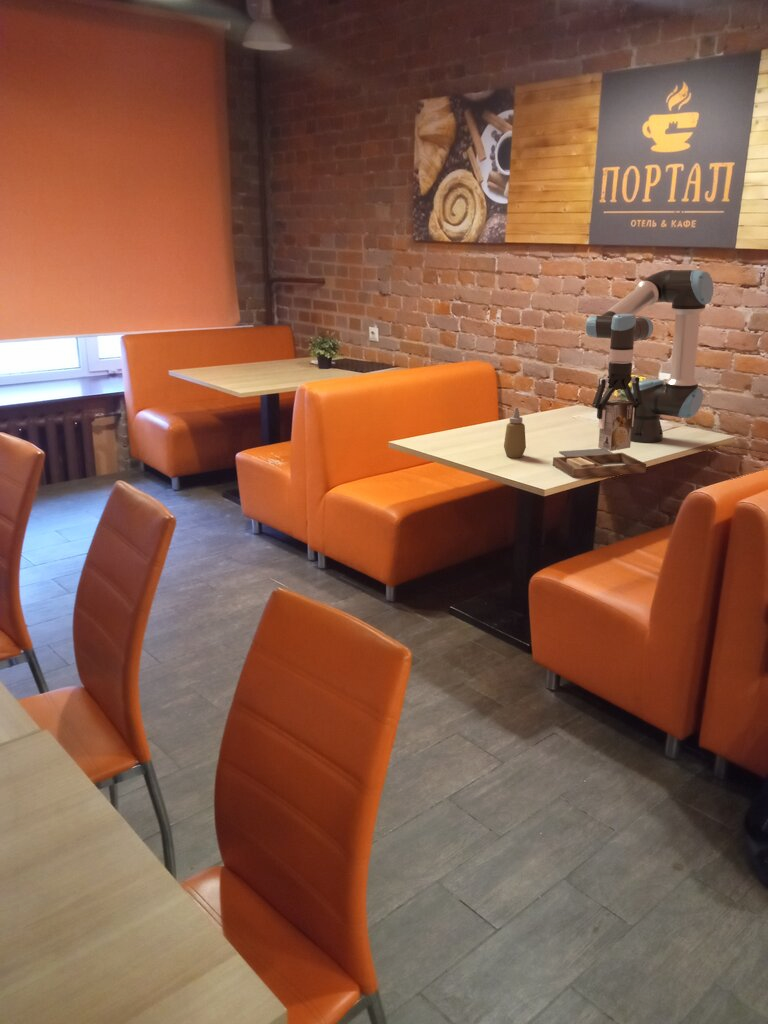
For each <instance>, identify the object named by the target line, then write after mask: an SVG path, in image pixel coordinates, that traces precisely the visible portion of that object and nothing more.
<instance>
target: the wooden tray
mask: <svg viewBox="0 0 768 1024" xmlns="http://www.w3.org/2000/svg"><path fill="white" fill-rule="evenodd" d="M571 458H582V459H585V460H587V461H590V462H592V463H595V467H583V468H575V467H573V466H571V465H569V464H568V463H566V462H567V459H571ZM606 463H622V464H614V465H611V464H610V465H602V464H606ZM552 466H553V467H555V468H556V469H557V470H560V471H561V472H563V473H564V474H566V475H568V476H569V477H571V478H572V479H576V478H579V479H580V478H589V477H591V478H592V477H601V476H603V477H604V476H618V475H629V474H631V475H632V474H642V473H643V474H644V473H646V471H647V463H645V462H643V461H641V460H639V459H637V458H634V457H632V456H631V455H628V454H626V453H624V452H615V453H614V452H612V453H609V454H595V455H580V456H553V457H552Z"/></svg>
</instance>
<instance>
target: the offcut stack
mask: <svg viewBox="0 0 768 1024" xmlns="http://www.w3.org/2000/svg"><path fill="white" fill-rule="evenodd" d="M566 463H568V464H569V465H571V466H573V467H575V468H583V467H595V463H592V462H590V461H587V460H585V459H582V458H571V459H567V462H566Z"/></svg>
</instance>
